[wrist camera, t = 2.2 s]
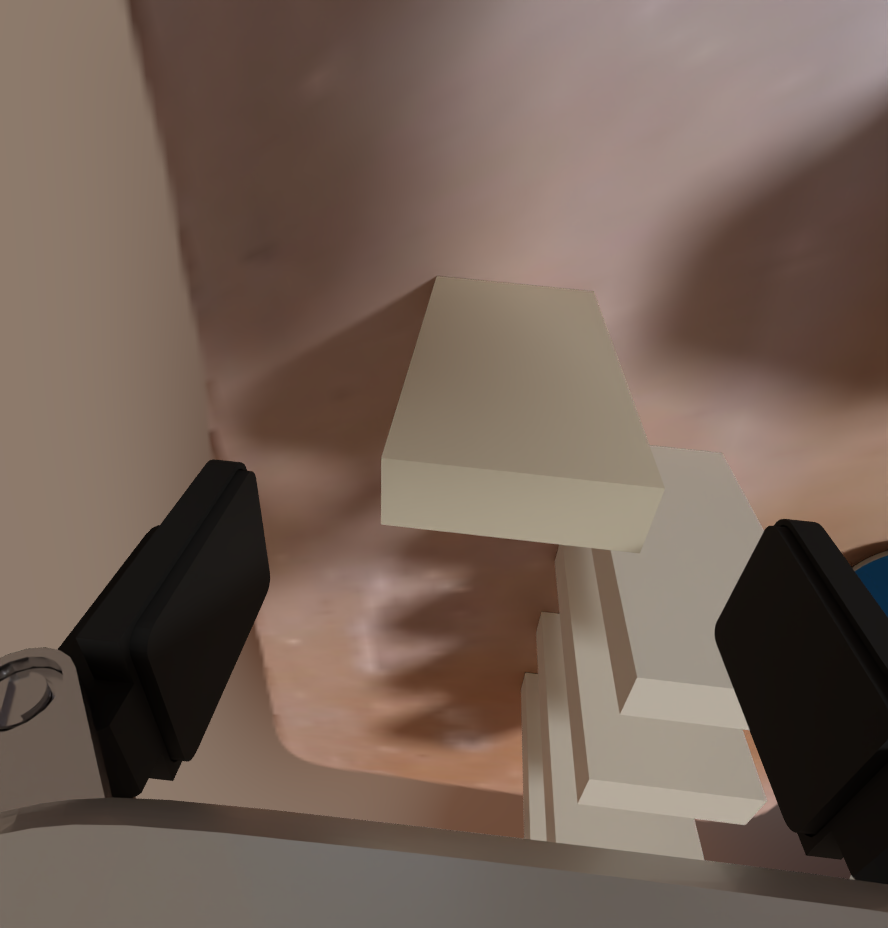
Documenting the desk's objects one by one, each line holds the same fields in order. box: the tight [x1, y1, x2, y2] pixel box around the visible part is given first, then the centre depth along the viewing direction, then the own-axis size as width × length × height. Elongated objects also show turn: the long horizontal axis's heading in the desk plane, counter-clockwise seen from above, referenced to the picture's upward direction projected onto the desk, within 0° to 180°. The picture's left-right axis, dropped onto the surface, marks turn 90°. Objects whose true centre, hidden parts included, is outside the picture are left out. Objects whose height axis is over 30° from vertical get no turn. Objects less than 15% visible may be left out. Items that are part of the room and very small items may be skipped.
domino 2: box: [521, 672, 547, 841], centre depth 26 cm, size 2×5×10 cm, turn 86°
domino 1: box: [381, 276, 665, 553], centre depth 14 cm, size 2×5×10 cm, turn 86°
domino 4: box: [555, 544, 767, 825], centre depth 21 cm, size 2×5×10 cm, turn 86°
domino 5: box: [536, 612, 704, 860], centre depth 23 cm, size 2×5×10 cm, turn 86°
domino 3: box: [591, 445, 764, 730], centre depth 18 cm, size 2×5×10 cm, turn 86°
